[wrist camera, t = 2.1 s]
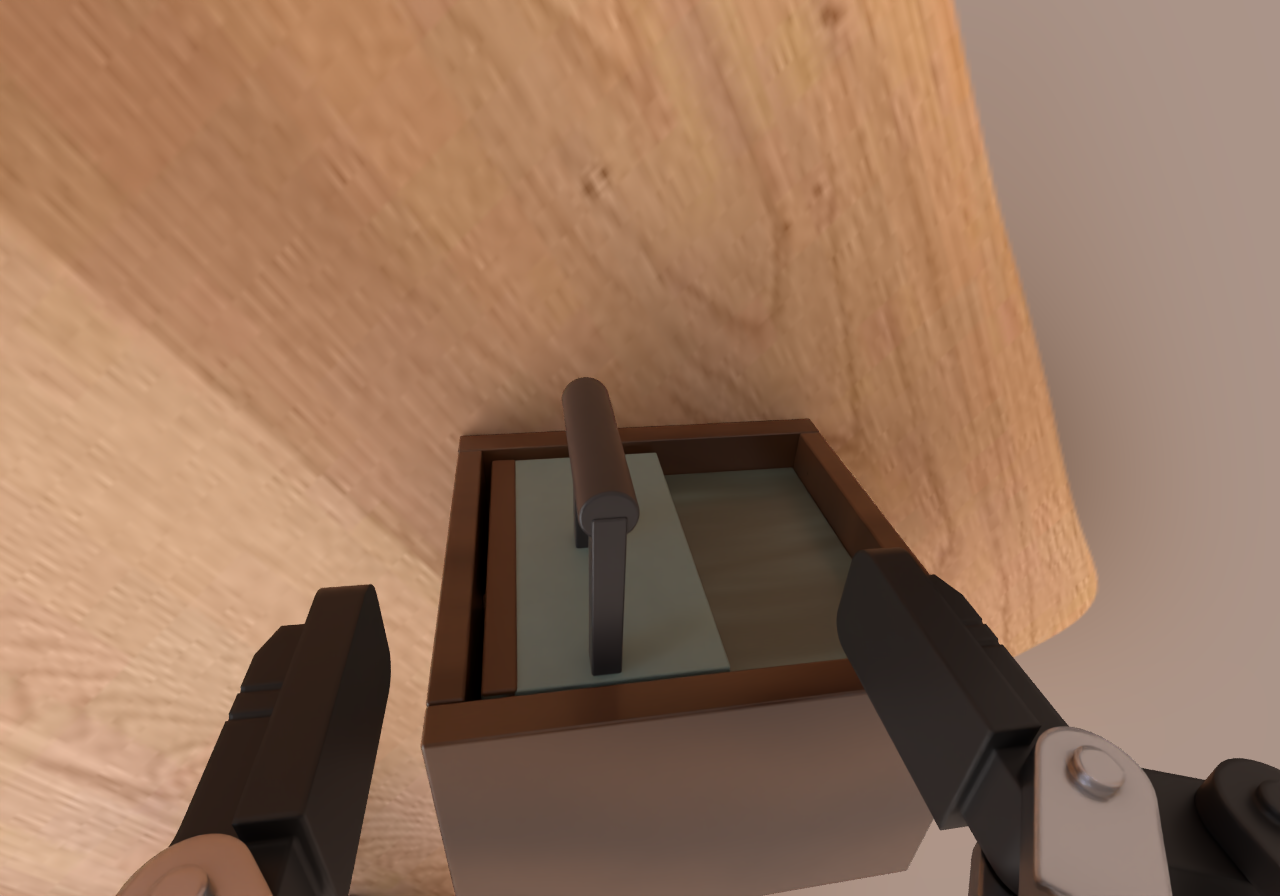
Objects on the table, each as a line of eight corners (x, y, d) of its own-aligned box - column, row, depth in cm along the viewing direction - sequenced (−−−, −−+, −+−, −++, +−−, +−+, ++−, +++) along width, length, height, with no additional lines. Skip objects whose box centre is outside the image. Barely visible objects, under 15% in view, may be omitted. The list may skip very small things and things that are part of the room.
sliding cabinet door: (477, 318, 19) (454, 510, 12) (665, 313, 20) (761, 488, 12) (493, 476, 22) (483, 714, 15) (655, 467, 23) (728, 685, 15)
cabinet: (460, 435, 23) (419, 747, 13) (809, 418, 25) (1009, 674, 15) (482, 617, 28) (466, 947, 18) (774, 590, 30) (908, 871, 20)
